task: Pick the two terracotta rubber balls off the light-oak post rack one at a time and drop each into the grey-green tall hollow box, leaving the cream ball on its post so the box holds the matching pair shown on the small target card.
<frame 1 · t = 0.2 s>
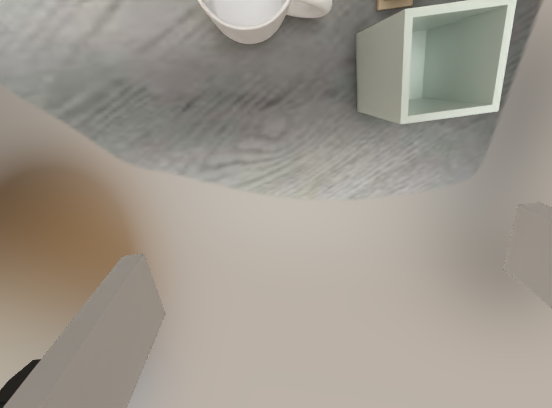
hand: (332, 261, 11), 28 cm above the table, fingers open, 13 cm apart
mug: (265, 6, 31), on the table
grey-green tall hollow box: (391, 69, 34), on the table
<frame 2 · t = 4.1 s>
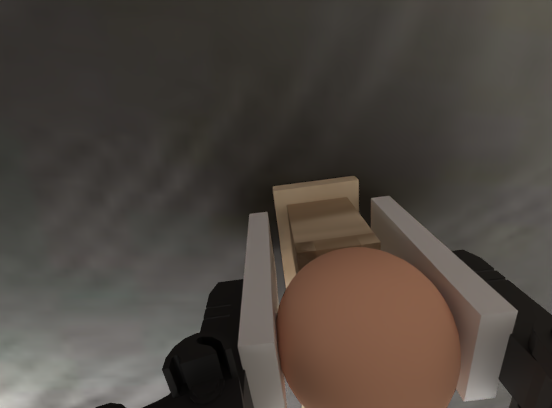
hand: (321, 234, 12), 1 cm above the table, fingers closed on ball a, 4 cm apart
ball a: (339, 279, 10), point 4 cm above the table, touching gripper, rack
rack: (325, 346, 17), on the table
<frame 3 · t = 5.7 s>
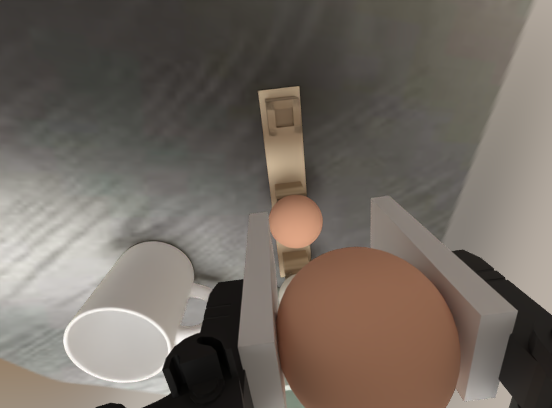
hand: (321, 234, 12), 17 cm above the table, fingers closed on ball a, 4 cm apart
ball b: (292, 210, 26), point 4 cm above the table, touching rack
ball a: (339, 279, 10), point 20 cm above the table, touching gripper
rack: (288, 192, 30), on the table
mug: (175, 272, 33), on the table
when the fingers open (14 cm above the table, at t = 7.3 s): ball a drops 16 cm, resting on grey-green tall hollow box.
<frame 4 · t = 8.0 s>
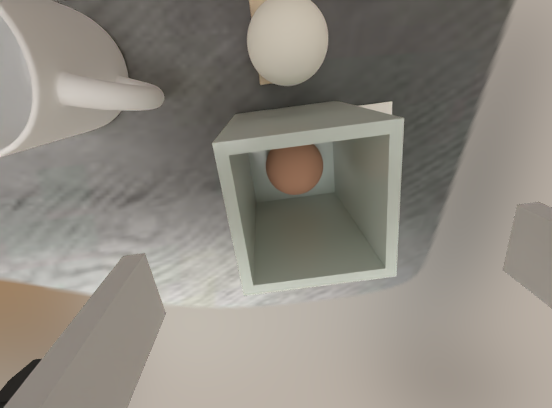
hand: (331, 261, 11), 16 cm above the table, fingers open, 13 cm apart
ball a: (291, 159, 24), point 1 cm above the table, touching grey-green tall hollow box
ball c: (284, 46, 18), point 4 cm above the table, touching rack
mug: (103, 79, 22), on the table
grey-green tall hollow box: (291, 157, 25), on the table
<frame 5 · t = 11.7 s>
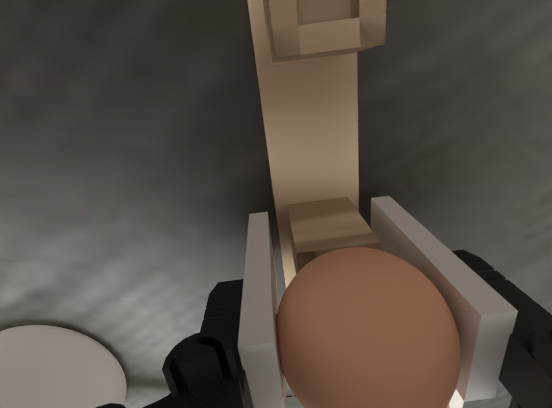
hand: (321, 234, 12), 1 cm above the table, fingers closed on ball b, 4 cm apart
ball b: (339, 279, 10), point 4 cm above the table, touching gripper, rack
rack: (316, 221, 14), on the table
mug: (92, 374, 17), on the table
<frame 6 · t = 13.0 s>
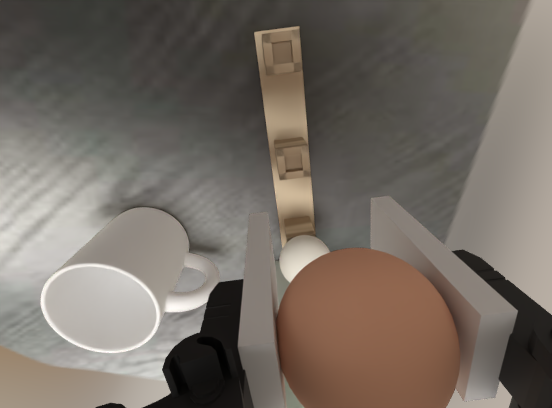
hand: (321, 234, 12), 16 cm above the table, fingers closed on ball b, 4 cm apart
ball b: (339, 280, 10), point 20 cm above the table, touching gripper
ball c: (302, 247, 27), point 4 cm above the table, touching rack
rack: (288, 151, 28), on the table
mug: (169, 242, 31), on the table
grey-green tall hollow box: (303, 287, 34), on the table
when the fingers open (14 cm above the table, at t = 14.5 s): ball b drops 10 cm and tips over, resting on ball a, grey-green tall hollow box.
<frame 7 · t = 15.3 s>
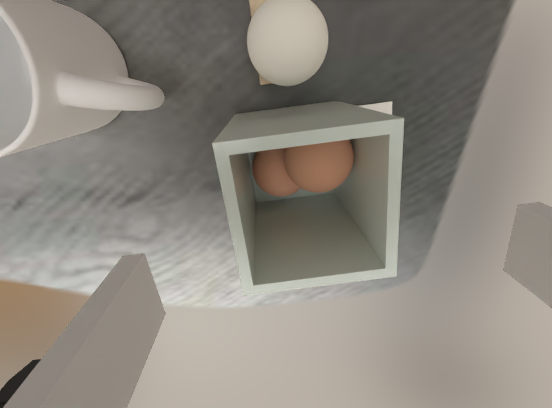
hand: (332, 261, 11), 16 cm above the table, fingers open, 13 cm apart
ball b: (286, 171, 19), point 6 cm above the table, tilted 94°, touching ball a, grey-green tall hollow box
ball a: (291, 159, 24), point 1 cm above the table, tilted 27°, touching ball b, grey-green tall hollow box
ball c: (284, 47, 18), point 4 cm above the table, touching rack
mug: (103, 79, 22), on the table
grey-green tall hollow box: (291, 157, 25), on the table
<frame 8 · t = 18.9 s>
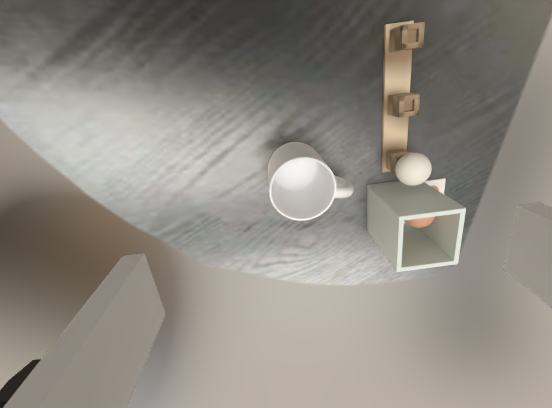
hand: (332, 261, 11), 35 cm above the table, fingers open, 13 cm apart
target card: (430, 199, 48), on the table
ball b: (404, 218, 42), point 6 cm above the table, tilted 94°, touching ball a, grey-green tall hollow box
ball c: (405, 164, 41), point 4 cm above the table, touching rack
rack: (394, 103, 42), on the table
mug: (305, 169, 46), on the table
grey-green tall hollow box: (391, 204, 48), on the table
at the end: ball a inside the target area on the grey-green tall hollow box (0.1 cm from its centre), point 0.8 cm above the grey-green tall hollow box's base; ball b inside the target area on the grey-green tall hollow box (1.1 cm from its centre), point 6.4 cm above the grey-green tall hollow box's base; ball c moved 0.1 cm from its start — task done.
